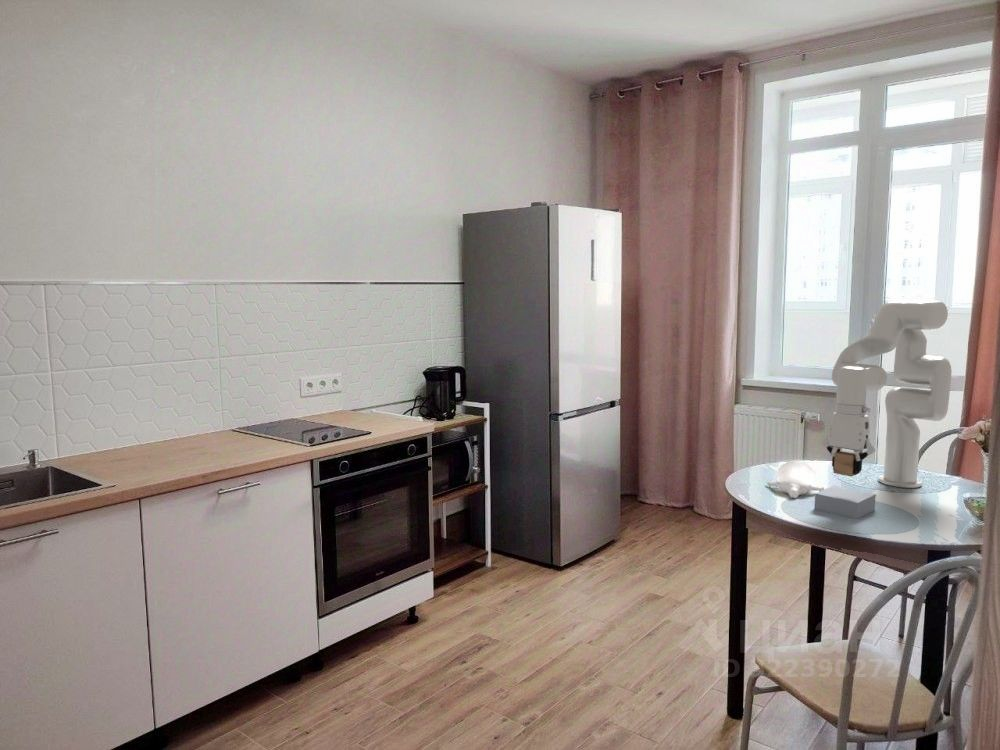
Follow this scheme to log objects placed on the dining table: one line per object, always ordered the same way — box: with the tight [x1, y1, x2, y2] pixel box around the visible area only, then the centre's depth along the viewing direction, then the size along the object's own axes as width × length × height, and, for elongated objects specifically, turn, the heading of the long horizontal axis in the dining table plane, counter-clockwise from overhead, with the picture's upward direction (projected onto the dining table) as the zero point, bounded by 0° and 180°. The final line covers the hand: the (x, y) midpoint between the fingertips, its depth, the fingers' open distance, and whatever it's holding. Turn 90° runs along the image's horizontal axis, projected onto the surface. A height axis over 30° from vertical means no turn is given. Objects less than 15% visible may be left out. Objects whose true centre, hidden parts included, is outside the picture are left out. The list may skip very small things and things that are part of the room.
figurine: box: [766, 459, 825, 499], centre depth 224 cm, size 17×9×25 cm
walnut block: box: [833, 449, 860, 477], centre depth 201 cm, size 5×5×6 cm
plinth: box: [813, 485, 877, 520], centre depth 203 cm, size 12×12×5 cm
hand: (846, 470), depth 202 cm, fingers closed on walnut block, 5 cm apart
